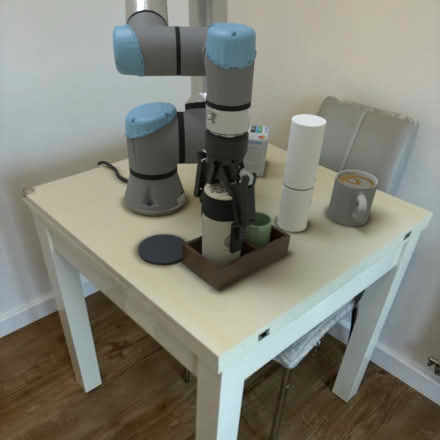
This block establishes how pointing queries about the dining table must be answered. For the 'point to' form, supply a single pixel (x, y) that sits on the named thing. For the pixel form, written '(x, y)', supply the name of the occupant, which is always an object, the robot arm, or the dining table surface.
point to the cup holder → (238, 268)
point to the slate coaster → (161, 249)
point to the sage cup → (259, 230)
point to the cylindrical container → (300, 171)
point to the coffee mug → (352, 197)
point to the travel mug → (217, 225)
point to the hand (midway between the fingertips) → (221, 240)
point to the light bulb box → (256, 149)
